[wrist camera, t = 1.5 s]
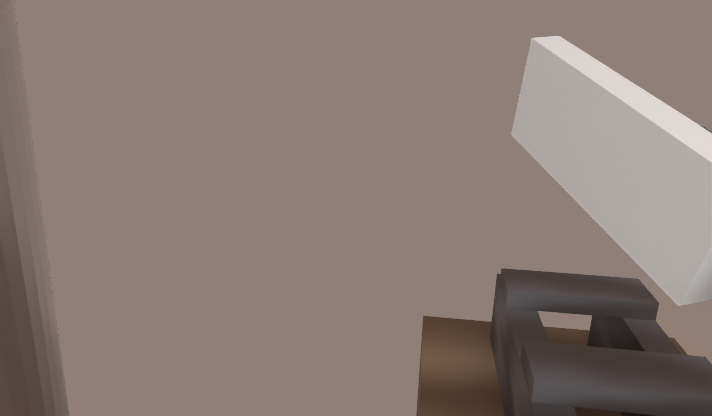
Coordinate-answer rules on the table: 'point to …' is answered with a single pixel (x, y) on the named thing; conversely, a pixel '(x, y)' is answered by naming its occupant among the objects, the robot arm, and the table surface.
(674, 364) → the walnut post
